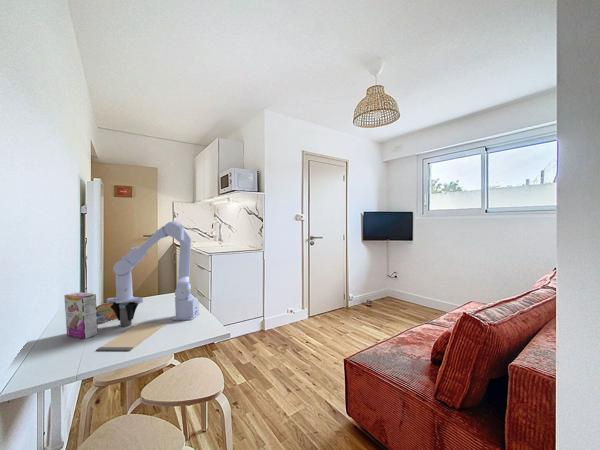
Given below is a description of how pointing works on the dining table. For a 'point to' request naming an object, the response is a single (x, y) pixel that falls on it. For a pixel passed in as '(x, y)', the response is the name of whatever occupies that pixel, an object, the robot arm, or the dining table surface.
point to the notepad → (131, 338)
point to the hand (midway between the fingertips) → (125, 319)
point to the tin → (105, 313)
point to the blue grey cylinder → (124, 316)
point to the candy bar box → (81, 315)
